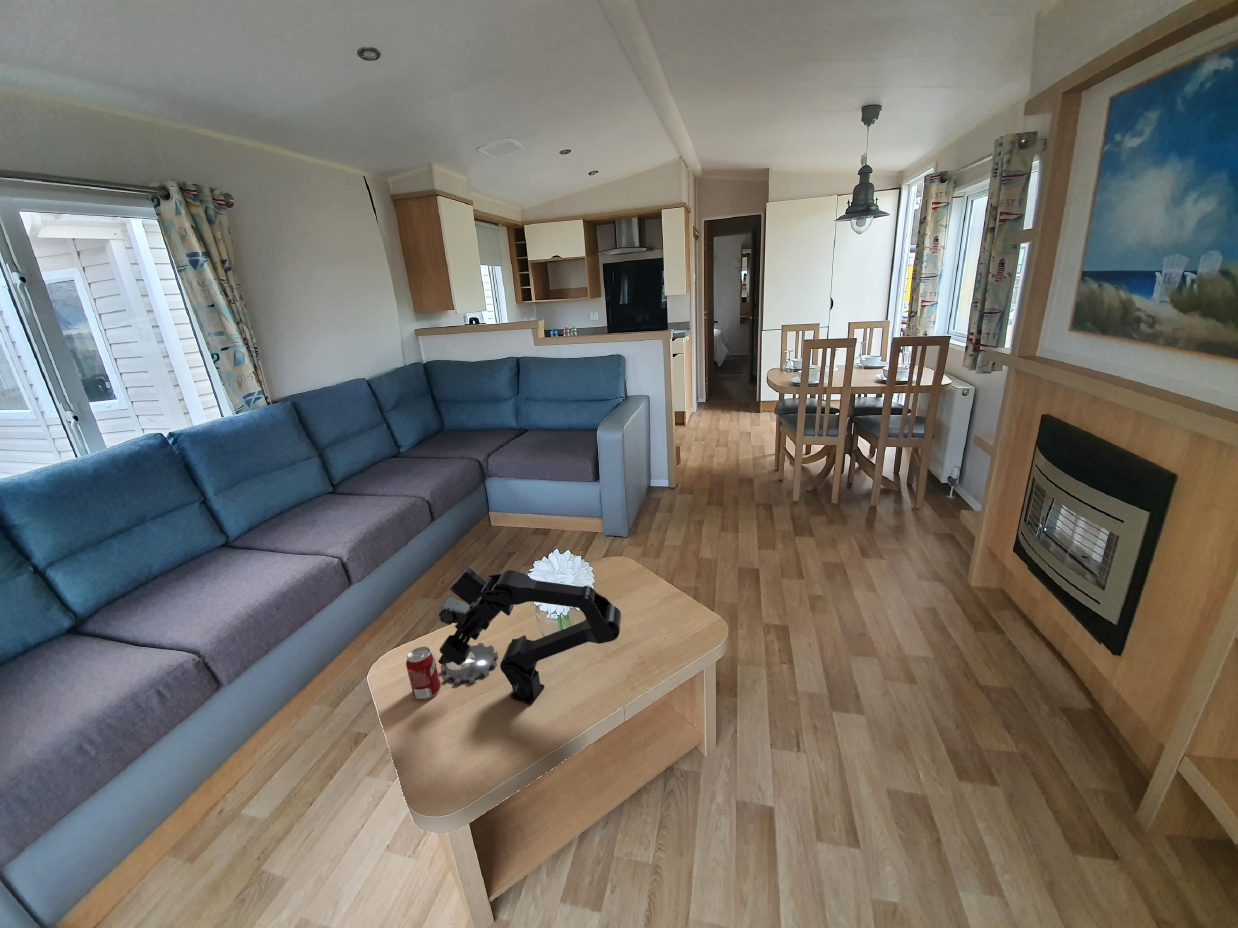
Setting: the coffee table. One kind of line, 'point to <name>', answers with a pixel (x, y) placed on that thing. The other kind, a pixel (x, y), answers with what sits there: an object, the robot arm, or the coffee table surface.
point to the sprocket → (472, 665)
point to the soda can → (423, 673)
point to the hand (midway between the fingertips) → (447, 649)
